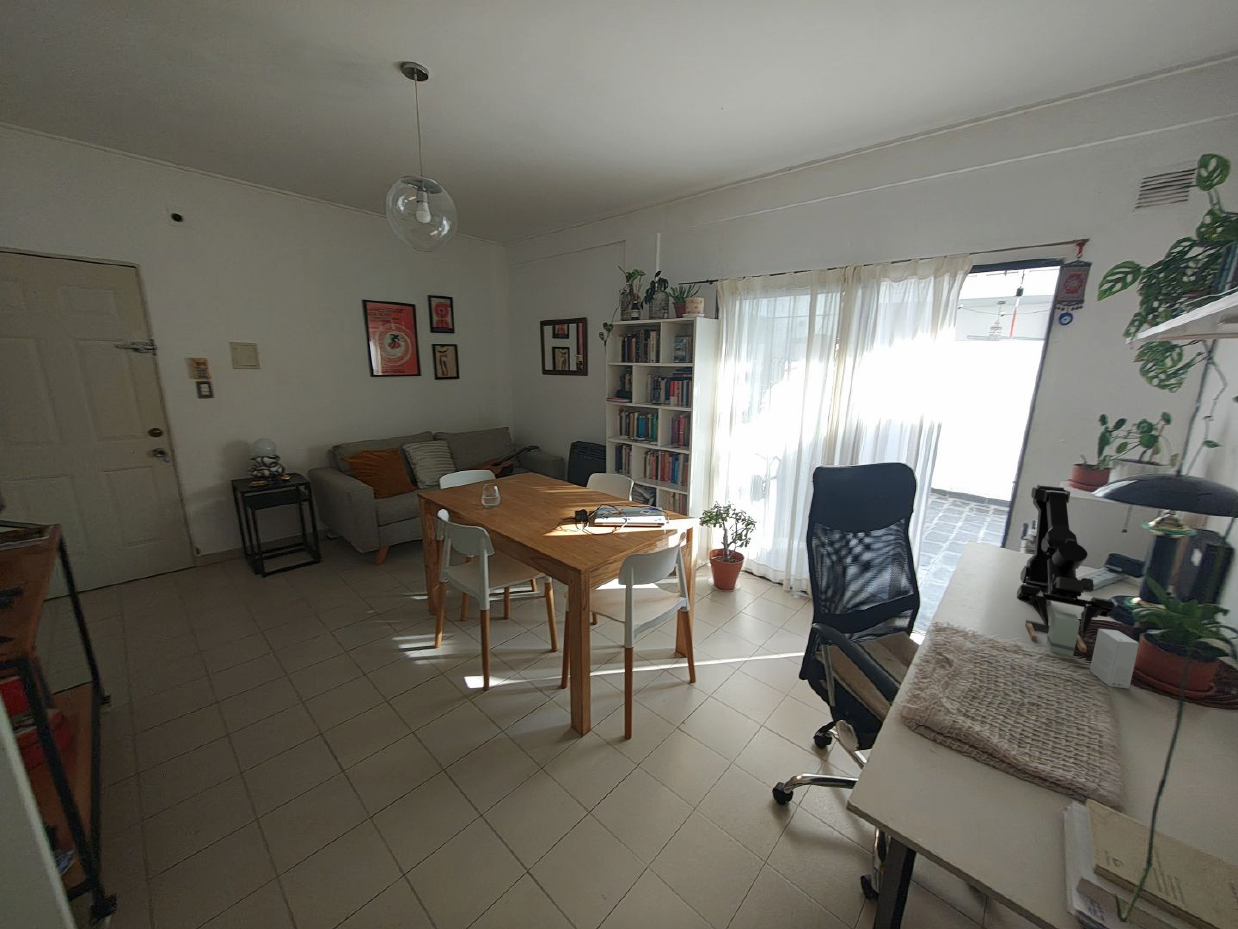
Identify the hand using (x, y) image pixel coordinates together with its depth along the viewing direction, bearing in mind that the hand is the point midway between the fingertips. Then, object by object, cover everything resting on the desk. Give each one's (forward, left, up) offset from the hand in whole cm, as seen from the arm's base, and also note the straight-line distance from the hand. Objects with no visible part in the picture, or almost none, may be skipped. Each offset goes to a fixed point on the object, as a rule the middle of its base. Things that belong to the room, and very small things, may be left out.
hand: (1065, 629), depth 120 cm
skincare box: (+5, +10, -7) cm, 13 cm away
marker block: (-1, -1, -7) cm, 7 cm away
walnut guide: (-7, -4, -7) cm, 10 cm away
